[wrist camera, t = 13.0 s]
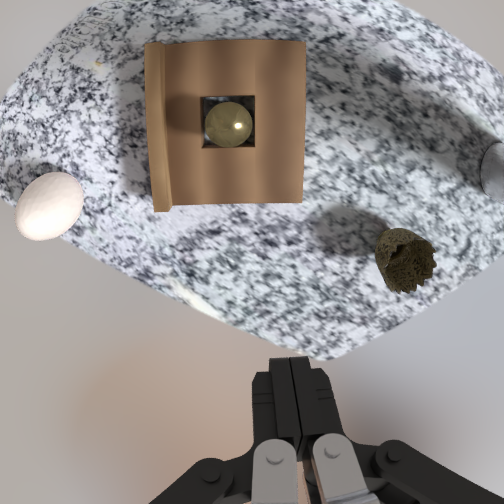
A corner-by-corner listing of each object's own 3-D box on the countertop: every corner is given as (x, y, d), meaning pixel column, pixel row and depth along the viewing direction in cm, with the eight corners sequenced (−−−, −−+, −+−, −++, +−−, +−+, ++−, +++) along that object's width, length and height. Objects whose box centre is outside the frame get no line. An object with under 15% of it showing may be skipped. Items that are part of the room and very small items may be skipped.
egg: (50, 162, 32) (-5, 188, 22) (96, 164, 33) (45, 192, 23) (52, 214, 36) (4, 252, 25) (96, 219, 36) (53, 263, 26)
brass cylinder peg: (249, 102, 31) (252, 102, 24) (248, 137, 33) (251, 147, 26) (212, 102, 31) (204, 102, 24) (212, 137, 33) (204, 147, 26)
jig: (300, 46, 28) (309, 38, 23) (297, 195, 36) (305, 208, 32) (157, 51, 27) (144, 43, 23) (164, 198, 36) (154, 212, 31)
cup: (358, 223, 38) (382, 251, 31) (405, 207, 37) (436, 231, 30) (366, 269, 41) (387, 302, 34) (410, 253, 40) (437, 283, 33)
